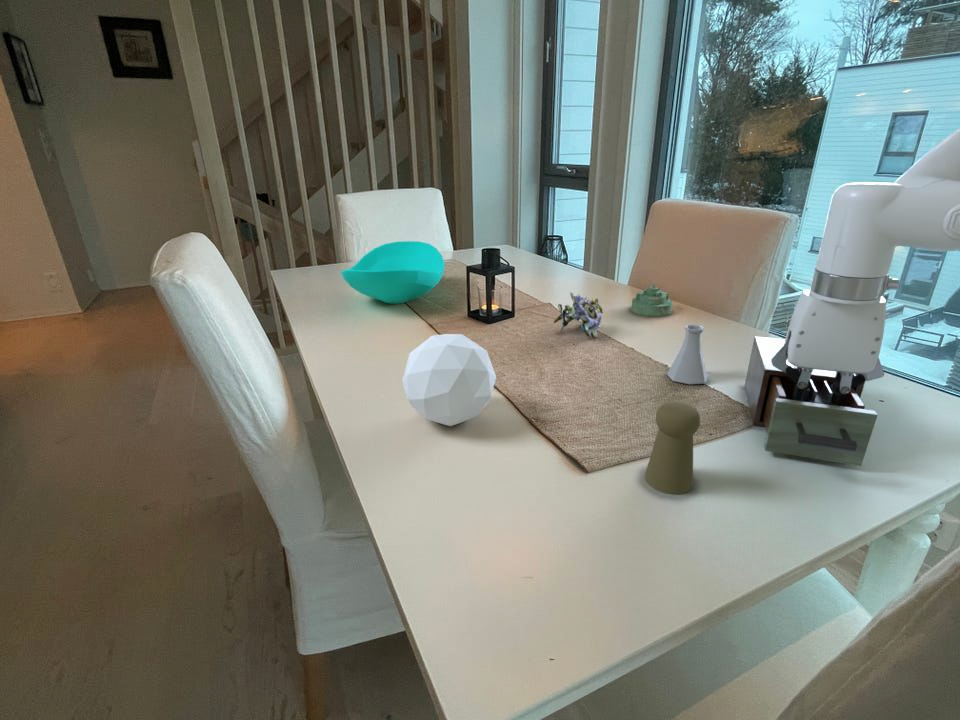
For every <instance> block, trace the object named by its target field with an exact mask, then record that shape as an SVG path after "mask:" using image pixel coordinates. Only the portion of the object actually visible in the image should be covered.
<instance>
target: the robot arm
mask: <svg viewBox="0 0 960 720" xmlns="http://www.w3.org/2000/svg"><path fill="white" fill-rule="evenodd" d="M896 247H904V248H905V247H907V248H913V249H920V250H921V249H922V250H928V251H934V252H935V251H936V252H956V251H960V127H959V128H958V129H957V130H955V131H953V132H952V133H950V134H949V135H948V136H946V137H945V138H943V139H942V140H941V141H939V142H938V143H936V144H935V146H933V147H932V148H931V149H929V151H928V152H926V153H925V154H924V155H923V156H922V157H920V158H919V159H918V160H917V161H916V162H915V163H914V164H913V165H912V166H910V167H909V168H908V169H907V170H906V171H905V172H904V173H903V174H902V175H900V176H899V177H898V178H897V179H896V180H895V181H894V182H882V181H881V182H879V181H878V182H877V181H862V182H861V181H859V182H849V183H845V184H842V185H840V186H839V187H837V188H836V189H835V191H834V192H833V194H832V196H831V200H830V203H829V208H828V212H827V216H826V220H825V225H824V229H823V233H822V238H821V242H820V247H819V250H818V255H817V260H816V263H815V267H814V272H813V276H812V281H811V285H810V289H804V290H802V292H801V294H800V295H799V298H798V300H797V302H796V305H795V306H794V310H793V312H792V315H791V318H790V320H789V321H790V322H789V325H788V327H787V332H786V334H785V338H784V339H785V342H784V346H783V347H782V348H781V349H780V350H779V351H778V352H777V353H776V354H775V356H774V357H773V358H772V359H771V363H772V365H773V366H774V367H776V368H777V369H779V370H781V371H782V372H785V373H786V374H787V375H788V376H789V377H790V378H791V379H792V380H793V382H794V383H795V388H794V393H793V397H792V400H796V401H804V402H807V400H808V399H809V395H810V389H809V387H808V386H809V384H808V382H809V379H810V377H811V374H812V371H813V369H817V370H826V371H836V377H835V382H834V383H833V384H831V386H829V387H830V389H831V391H832V393H833V394H832V398H831V400H832V401H833V402H834V404H835V406H842V403H843V400H844V396H845V394H847V393H849V392H850V390H851V389H852V388H854V387H856V386H858V385H860V384H862V383H864V382H865V383H866V382H869V381H873V380H877V379H881V378H883V377H884V376H885V371H884V369H883V366H882V363H881V360H880V358H879V357H880V353H881V348H882V345H883V338H884V332H885V325H886V315H887V314H886V313H887V299H886V298H885V293H886V291H890V290H893V291H896V290H898V289H899V286H900V279H898V278H893V277H890V275H889V273H890V272H889V271H890V268H891V265H892V261H893V258H894V254H895V250H896ZM787 359H788V362H789V363H788V362H787V361H786V360H787ZM795 366H796V367H797V368H796V367H795Z"/></svg>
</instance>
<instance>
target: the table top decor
mask: <svg viewBox="0 0 960 720" xmlns="http://www.w3.org/2000/svg"><path fill="white" fill-rule="evenodd" d="M445 267H446V265H445V262H444V258H443V255H442V254H441V252H440V251H439V250H438V248H437V247H435V246H434V245H432V244H430V243H429V242H423V241H418V240H417V241H415V240H404V241H403V240H402V241H392V242H388V243H384V244H382V245H379V246H377V247H374V248H373V249H371V250H370V251H368V252H367V253H365V254H364V255H363V256H362V257H361V258H360V259H359V260H358V261H357V262H356V263H355V264H354V265H352V266H351V267H349V268H348V269H343V270H341V272H340V274H341V276H342V278H343V280H344V281H345V282H346V283H347V285H348V286H349V287H350V288H352V289H353V290H355V291H357V292H358V293H359V294H362V295H365V296H367V297H370V298H371V299H374V300H378V301H379V302H383V303H385V304H404V303H407V302H408V301H412V300H415V299H418V298H420V297H422V296H425V295H426V294H428V293H429V292H431V290H433V289H434V288H435V287H436V286H437V285H438V284H439V282H440V281H441V279H442V278H443V275H444V270H445Z"/></svg>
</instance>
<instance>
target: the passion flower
mask: <svg viewBox="0 0 960 720" xmlns="http://www.w3.org/2000/svg"><path fill="white" fill-rule="evenodd" d="M569 294H570V298H571V301H572V306H571V307H570V304H565V306H564V309H563V304H561V303H558V305H557V308H558V310H559V312H560V314H559V316H557V317H556V318H555V319H554V321H553V324H556V323H558V321H561V320H562V323H561V326H560V332H562V331H563V330H564V328H565V327H567V326H568V325H569V323H570V322H572V321H573V320H576V321H577V322H579V321H581V325H580V331H582V332H583V333H585V336H587V337H588V338H591V337H592V338H598V333H597V330H598V329H600V328H601V325H600V324H601V323H602V322H601V320H602V314H603V313H604V312H603V307H602V306H601V305H600V303H599V299H598V298H595V299H594V298H591V299H588V298H587V297H583V296H581V295H580V293H577V295H574V293H573V292H570V293H569Z"/></svg>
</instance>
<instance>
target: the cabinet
mask: <svg viewBox="0 0 960 720" xmlns="http://www.w3.org/2000/svg"><path fill="white" fill-rule="evenodd" d="M784 342H785V338H777V337H776V338H775V337H765V336H757V335H755V336H754V337H753V342H752V347H751V352H750V357H749V362H748V367H747V371H746V377H745V382H744V390H745V394H746V395H745V396H746V399H747V403H748V409H749V413H750V419H751V424H752V426H755V427H763V428H766V427H765V423H764V419H763V415H762V407H763V403H764V398H765V394H766V389H767V385H768V380H769V376H770V375H776V376H785V377H789V376H788V375H787V374H786V373H785V372H782V371H781V370H779V369H777V368H776V367H774V366H773V365H772V363H771V359H772V358H773V357H774V356H775V354H776V353H777V352H778V351H779V350H780V349H781V348H782V347H783V346H784ZM786 361H787V362H788V359H787V360H786ZM788 363H789V362H788ZM795 367H796V366H795ZM796 368H797V367H796ZM835 377H836V371H826V370H817V369H813V371H812V374H811V377H810V379H811V380H819V381H828V382H835ZM865 383H866V381H865V382H864V383H862V384H860V385H858V386H856V387H854V390H855V392H856V393H857V395H858V396H859V398H860V399H861V397H862V394H863V390H864V387H865Z"/></svg>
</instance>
